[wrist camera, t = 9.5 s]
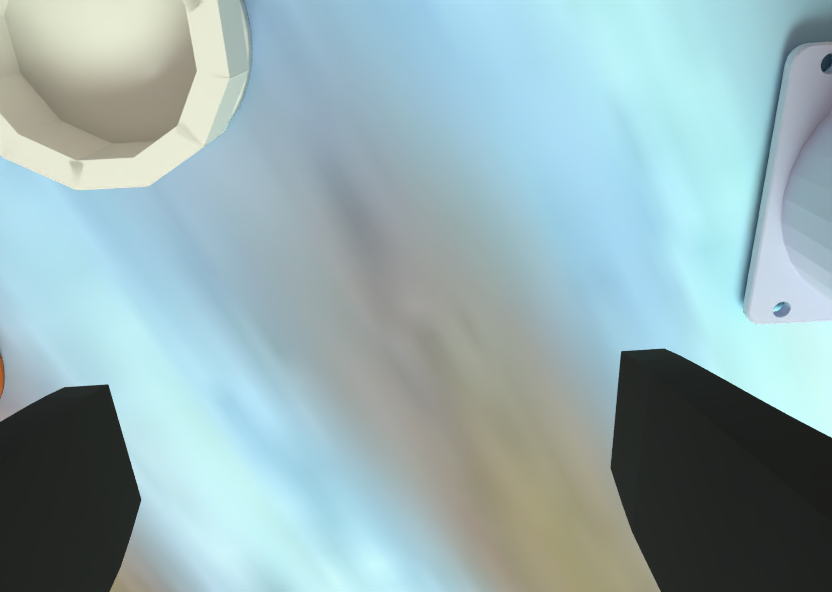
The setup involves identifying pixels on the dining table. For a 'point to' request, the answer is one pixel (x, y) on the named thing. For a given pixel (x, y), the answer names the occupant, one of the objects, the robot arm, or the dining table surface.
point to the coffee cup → (1, 376)
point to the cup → (118, 85)
